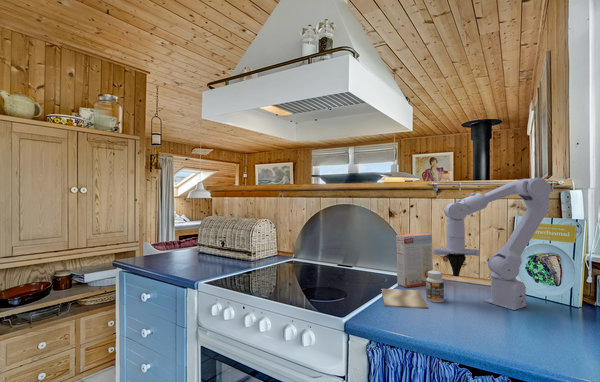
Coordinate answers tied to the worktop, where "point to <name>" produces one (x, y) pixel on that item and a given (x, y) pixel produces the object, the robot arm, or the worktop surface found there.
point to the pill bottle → (435, 287)
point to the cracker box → (413, 258)
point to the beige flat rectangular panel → (403, 298)
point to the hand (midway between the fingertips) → (456, 275)
